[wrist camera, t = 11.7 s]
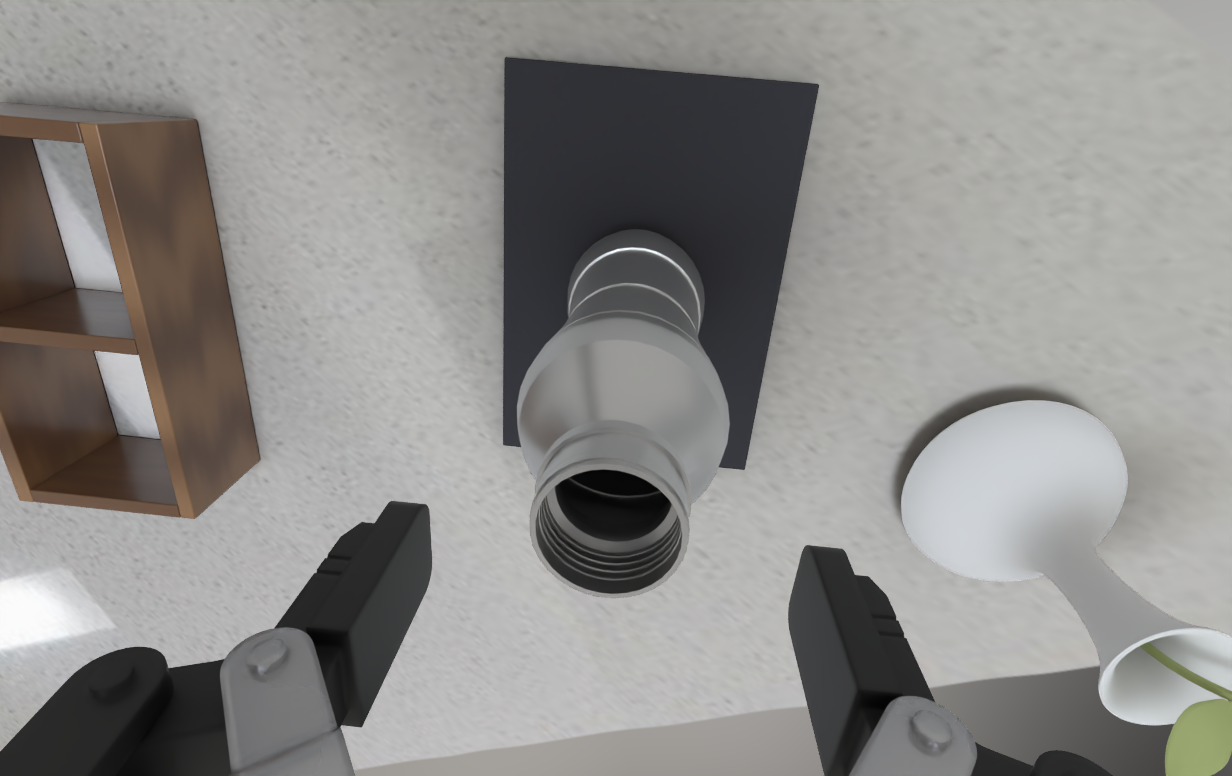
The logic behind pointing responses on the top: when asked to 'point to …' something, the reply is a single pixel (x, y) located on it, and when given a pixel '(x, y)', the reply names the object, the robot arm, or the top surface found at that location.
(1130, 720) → the flower in vase
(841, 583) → the robot arm
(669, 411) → the plastic bottle
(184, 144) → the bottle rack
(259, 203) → the top surface
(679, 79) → the mat
